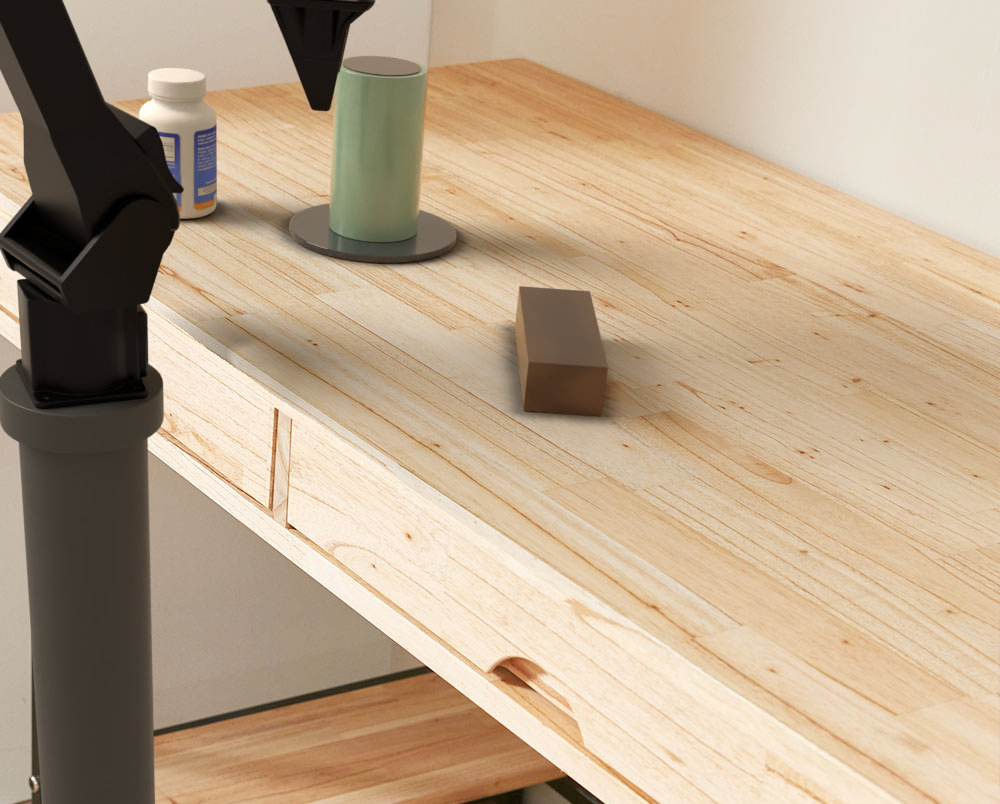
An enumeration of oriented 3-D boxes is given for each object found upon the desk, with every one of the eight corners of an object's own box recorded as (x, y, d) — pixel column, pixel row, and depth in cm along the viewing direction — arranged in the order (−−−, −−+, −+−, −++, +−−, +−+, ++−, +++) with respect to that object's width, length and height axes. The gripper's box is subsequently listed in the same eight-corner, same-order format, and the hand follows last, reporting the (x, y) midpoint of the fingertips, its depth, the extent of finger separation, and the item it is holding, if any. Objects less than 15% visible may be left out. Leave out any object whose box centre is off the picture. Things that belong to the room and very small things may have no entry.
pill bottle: (205, 195, 115) (204, 64, 111) (226, 218, 111) (226, 82, 107) (132, 199, 113) (129, 65, 109) (151, 222, 109) (148, 84, 104)
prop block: (523, 411, 87) (528, 361, 85) (514, 330, 97) (519, 285, 96) (602, 416, 87) (608, 367, 86) (584, 335, 97) (590, 290, 96)
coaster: (323, 268, 104) (323, 261, 104) (266, 212, 113) (266, 206, 113) (483, 256, 109) (483, 250, 109) (416, 203, 118) (417, 197, 118)
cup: (244, 151, 105) (382, 28, 101) (254, 126, 110) (385, 9, 107) (369, 284, 109) (505, 172, 106) (372, 254, 115) (502, 146, 112)
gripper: (479, -158, 79) (459, 142, 86) (474, -190, 95) (456, 65, 103) (261, -177, 78) (259, 128, 86) (293, -206, 95) (289, 52, 102)
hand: (326, 90), depth 94 cm, fingers open, 9 cm apart
